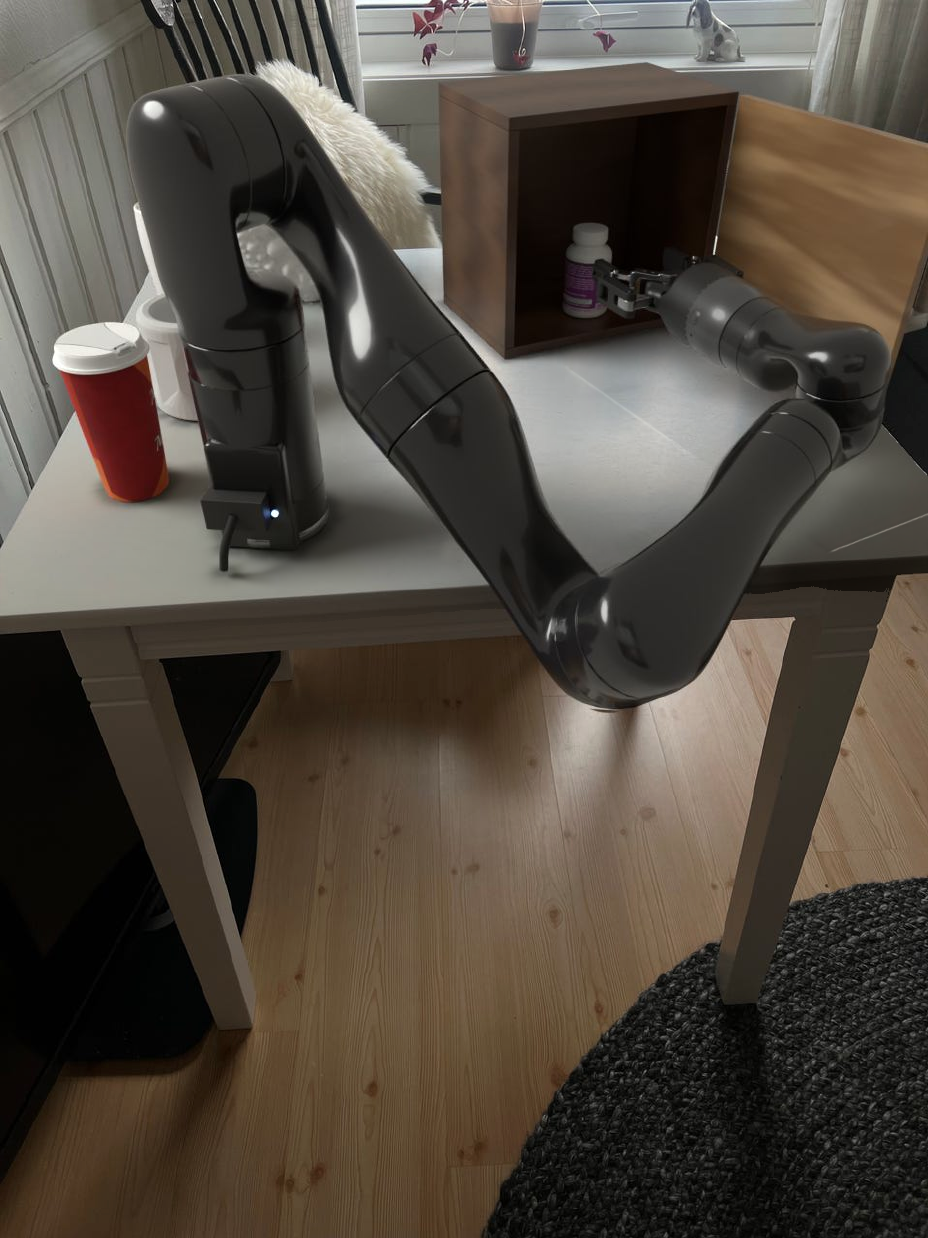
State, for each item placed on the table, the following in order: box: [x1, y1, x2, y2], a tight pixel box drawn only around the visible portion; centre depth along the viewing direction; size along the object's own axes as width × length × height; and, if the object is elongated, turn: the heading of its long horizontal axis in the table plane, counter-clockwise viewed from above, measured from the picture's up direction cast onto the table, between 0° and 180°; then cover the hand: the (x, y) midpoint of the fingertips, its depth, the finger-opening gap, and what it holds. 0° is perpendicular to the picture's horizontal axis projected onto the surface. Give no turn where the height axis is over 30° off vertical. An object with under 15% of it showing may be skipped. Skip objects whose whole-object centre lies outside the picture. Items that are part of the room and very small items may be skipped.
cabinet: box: [437, 61, 740, 360], centre depth 107 cm, size 18×26×24 cm
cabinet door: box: [714, 93, 928, 389], centre depth 96 cm, size 7×26×24 cm, turn 28°
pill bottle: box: [563, 223, 612, 318], centre depth 109 cm, size 5×5×10 cm
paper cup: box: [52, 321, 170, 503], centre depth 81 cm, size 8×8×14 cm
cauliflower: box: [237, 224, 320, 303], centre depth 118 cm, size 19×20×20 cm
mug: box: [135, 293, 198, 422], centre depth 96 cm, size 14×11×10 cm
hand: (631, 261), depth 100 cm, fingers open, 8 cm apart
